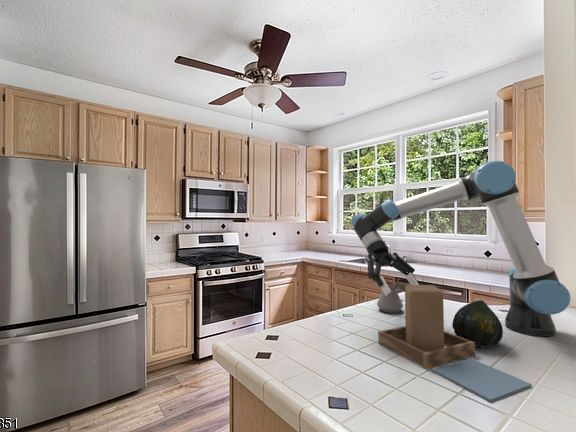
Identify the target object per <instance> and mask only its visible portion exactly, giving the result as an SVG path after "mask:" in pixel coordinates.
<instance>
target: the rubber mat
mask: <svg viewBox="0 0 576 432" xmlns="http://www.w3.org/2000/svg"><path fill="white" fill-rule="evenodd" d="M432 373H435V374H436V375H438V376H439V377H442V378H444V379H446V380H447V381H450V382H452V383H453V384H455V385H457V386H459V387H461V388H463V389H464V390H466V391H468V392H471V393H472V394H474V395H476V396H477V397H480V398H482V399H483V400H485V401H487V402H489V403H493V402H496V401H497V400H500V399H502V398H506V397H508V396H510V395H513V394H516V393H518V392H521V391H524V390H526V389H529V388H531V387H533V384H532V383H530V382H527V381H526V380H523V379H521V378H519V377H517V376H514V375H512V374H509V373H507V372H505V371H502V370H501V369H497V368H496V367H492V366H490V365H488V364H486V363H483V362H481V361H479V360H476V359H474V358H472V357H470V358H467V359H464V360H460V361H457V362H454V363H450V364H447V365H442V366H440V367H435V368H433V369H432Z"/></svg>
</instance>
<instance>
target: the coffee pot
mask: <svg viewBox="0 0 576 432" xmlns="http://www.w3.org/2000/svg"><path fill="white" fill-rule="evenodd" d="M385 282H386V283H387V285H388V287H389V288H390V290H391V292H390V293H389V295H388V296H385V294H384V292H383V290H382V289H381V290H382V291H381V293H380V295H379V296H378V297H379V298H378V300H377V301H376V302H377V303H376V305H377V307H378V309H379V310H380V311H382V312H384V313H386V314H395V313H399V312H400V311H401V310H402V309H403V306H404V304H403V302H402V299H401V298H400V296H399V293H398V292H399V291H402V290H405V286H406V285H405V286H402V287H400V288H396V286H397V282H395V281H385Z"/></svg>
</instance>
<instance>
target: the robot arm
mask: <svg viewBox="0 0 576 432" xmlns="http://www.w3.org/2000/svg"><path fill="white" fill-rule="evenodd" d="M516 180H517V174H516V170H515V169H514V167H513V166H512V165H511V164H509V163H507V162H504V161H501V160H490V161H487V162H484V163H483V164H481V165H480V166H478V167H477V168H476V169H475V170H474V171H473V172H471V173H469V174H467V175H465V176H462V177H459V178H457V181H455V182H451V183H449V184H446V185H443V186H440V187H438V188H434V189H431V190H428V191H426V192H423V193H419V194H417V195H414V196H411V197H410V196H409V197H408V198H404V199H402V200H399V201H396V202H395V201H393V199H387V200H385V201H384V202H382V203H381V204H380V205H378V206H377V207H376V208H374V209H373V210H371V211H370V212H369V213H367V214H366V213H363V212H360V213H359V214H355V215H354V216H353V217H352V219H351V221H350V222H351V223H350V224H351V226H352V228H353V231H354V232H355V234H356V235H357V236H358V239H359V240H360V242H361V243H362V245H363V246H364V248H365V250H366V252H367V256H366V258H365V260H366V263H367V276H368V277H367V278H368V279H370V280H372V282H376V285H377V286H378V287H379V288H380V289H381V290H383V292H384V294H385V296H388V295H389V293H390V292H391V290H390V288H389V287H388V285H387V283H386V282H387V281H386V280H385V279H384V276H383V275H381V270H382V267H391V268H394V269H395V270H397V271H399V272H400V273H401V274H404V275H405V278H406V280H407V282H408V283H409V285H420V284H419V282H418V281H417V277H415V275H414V272H415V271H416V270H415V268H414V267H412V266H411V264H409V263H408V262H407V261H406V260H404V259H403V258H402V257H400V255H399V254H398V253H397V252H394V253H392V254H391V253H390V252H389V247H388V246H387V244H386V242H385V241H384V240H383V238H382V236H381V235H380V233H379V232H378V231H377V230H379V229H381V228H382V227H384V226H385V225H386V224H390V223H392V222H394V221H398V220H401V219H404V218H407V217H410V216H411V217H412V216H414V215H416V214H420V213H424V212H426V211H429V210H433V209H436V208H439V207H442V206H443V207H444V206H445V205H448V204H453V203H456V202H459V201H461V200H464V201H470V200H473V199H479V200H480V202H481V204H482V206H483V205H484V206H485V207H488V208H489V211H490V213H491V215H492V216H491V217H492V218H493V220H494V222H495V225H496V227H497V231H498V232H499V234H500V236H501V239H502V241H503V243H504V246H505V248H506V251H507V253H508V255H509V258H510V260H511V262H512V264H513V267H514V268H510V270H509V275H508V278H509V309H508V312H507V314H506V316H505V319H504V321H505V322H504V325H505V327H506V328H507V329H509V330H511V331H514V332H517V333H520V334H524V335H530V336H535V337H537V336H538V337H552V336H555V335H556V334H557V333H556V332H557V328H556V326H555V325H556V324H555V322H554V320H553V318H552V316H553V315H556V314H557V315H558V314H560V313H562V312H564V311H565V310H566V309H568V307H569V305H570V303H571V294H570V291H569V290H568V289H567V287H566V286H565V284H563V283H561V282H560V280H559V277H558V275H557V273H556V270H555V269H554V267H551V266H550V265H547V264H546V262H545V260H544V258H543V254H542V253H541V251H540V249H539V246H538V244H537V241H536V240H535V237H534V235H533V233H532V231H531V228H530V226H529V223H528V222H527V219H526V217H525V214H524V212H523V210H522V207H521V206H520V204H519V201H518V196H519V195H520V190H519V188H518V185H517V184H516V182H517V181H516ZM374 262H375V263H374ZM374 264H375V265H374Z"/></svg>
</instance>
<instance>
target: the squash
mask: <svg viewBox="0 0 576 432" xmlns="http://www.w3.org/2000/svg"><path fill="white" fill-rule="evenodd" d="M452 329H453V331H454V335H456V336H459V337H462V338H464V339H467V340H470V341H472V342H475V348H478V347H479V346H480V347H482V348H489V347H491V346H493V345H494V346H495V345H497V344H499V343H500V342H501V340H502V339H503V334H504V329H503V325H502V322H501V321H500V319H499V317H498V316H497V315H496V313H495V312H494V311H493V310H492V309H491V308H490V307H489V305H488V304H487V303H486V302H485V300H474V301H472V302H470V303H467V304H465V305H463V306H462V307H460V308H459V309H458V310H457V311H456V313H455V314H454V316H453V320H452Z"/></svg>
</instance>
